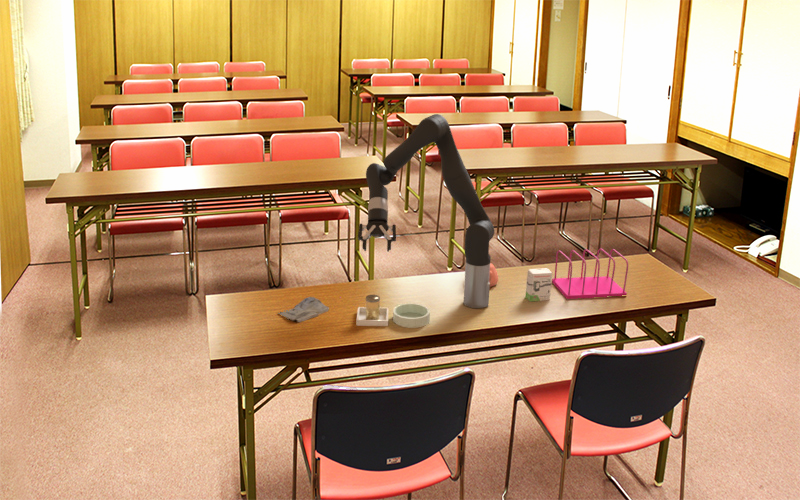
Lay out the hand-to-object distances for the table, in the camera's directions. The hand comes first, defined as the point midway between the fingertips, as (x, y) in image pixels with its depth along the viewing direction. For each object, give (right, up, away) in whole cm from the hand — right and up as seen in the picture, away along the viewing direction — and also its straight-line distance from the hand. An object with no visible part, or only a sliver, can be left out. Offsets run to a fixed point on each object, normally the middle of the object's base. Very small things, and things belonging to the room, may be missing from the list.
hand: (376, 250), depth 265 cm
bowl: (+13, -26, -6) cm, 29 cm away
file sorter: (+85, -16, +25) cm, 90 cm away
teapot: (+43, -13, +30) cm, 54 cm away
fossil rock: (-27, -23, +1) cm, 36 cm away
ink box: (+63, -19, +15) cm, 67 cm away
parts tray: (-1, -25, -6) cm, 26 cm away
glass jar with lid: (-1, -25, -6) cm, 26 cm away
